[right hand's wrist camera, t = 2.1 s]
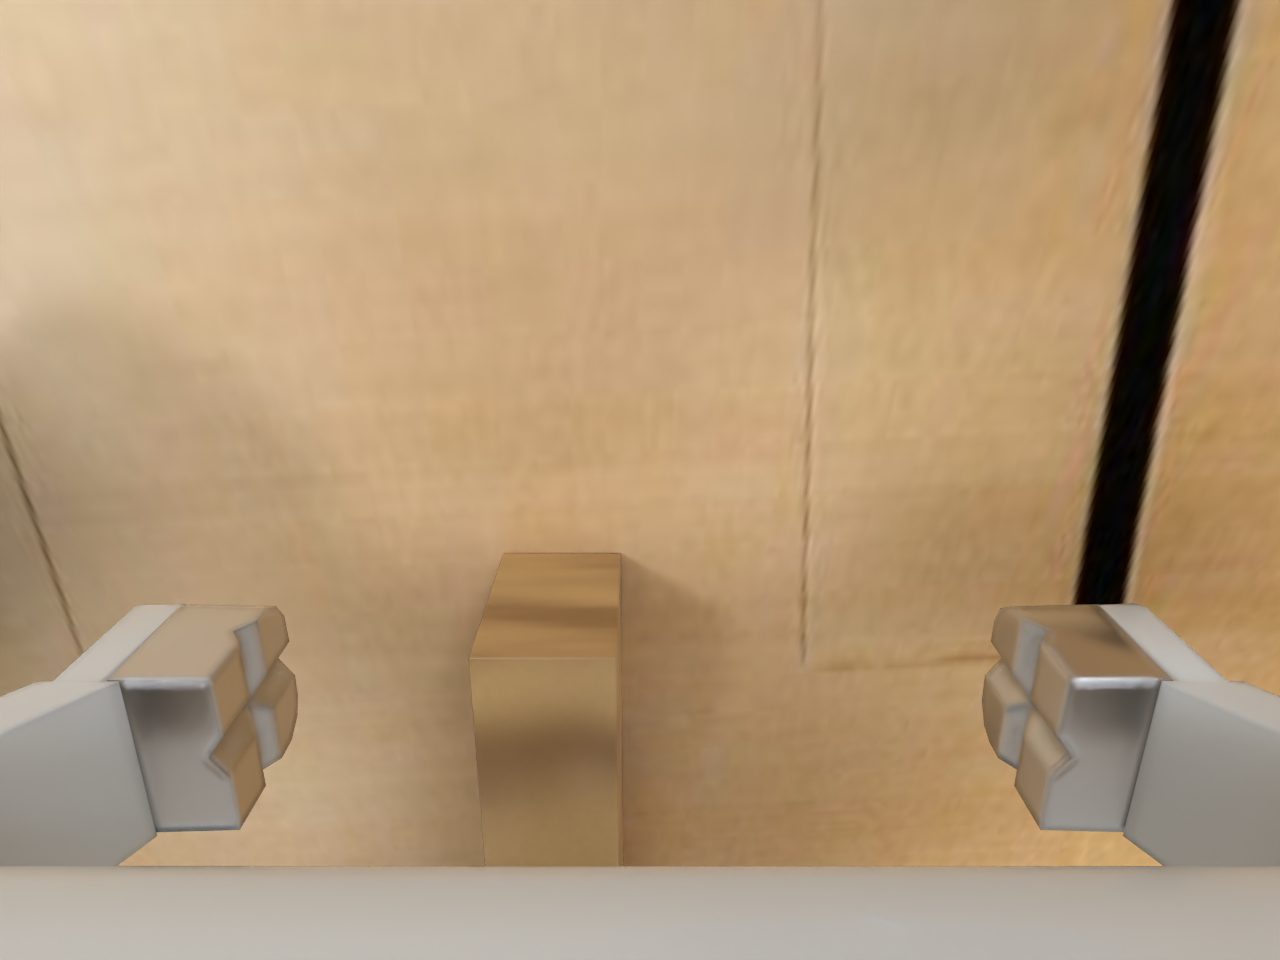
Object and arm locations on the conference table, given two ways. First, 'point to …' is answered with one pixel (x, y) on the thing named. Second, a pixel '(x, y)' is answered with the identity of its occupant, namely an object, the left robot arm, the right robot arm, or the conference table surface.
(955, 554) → the conference table surface
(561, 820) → the bar
